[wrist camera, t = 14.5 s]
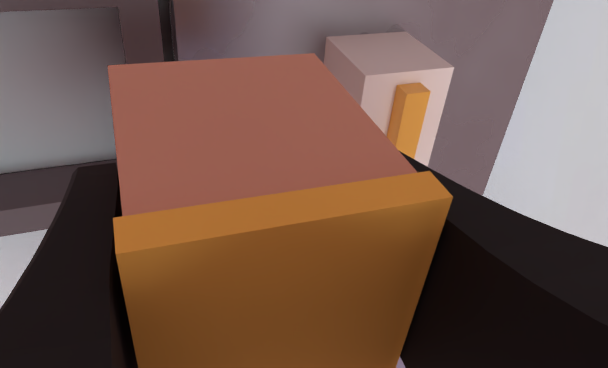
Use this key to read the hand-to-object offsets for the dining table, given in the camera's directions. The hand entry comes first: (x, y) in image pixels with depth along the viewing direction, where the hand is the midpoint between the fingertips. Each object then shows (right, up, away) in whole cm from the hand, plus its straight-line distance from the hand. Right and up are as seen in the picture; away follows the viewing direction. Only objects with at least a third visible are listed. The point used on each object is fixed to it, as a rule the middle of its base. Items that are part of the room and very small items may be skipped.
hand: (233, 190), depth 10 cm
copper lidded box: (0, +1, +1) cm, 2 cm away
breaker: (+3, +4, +8) cm, 10 cm away
